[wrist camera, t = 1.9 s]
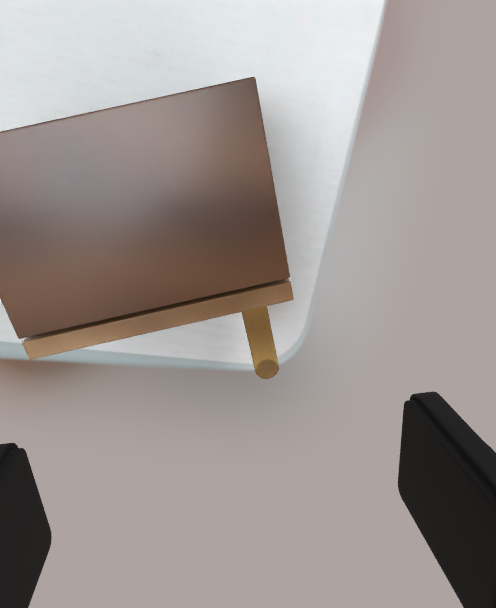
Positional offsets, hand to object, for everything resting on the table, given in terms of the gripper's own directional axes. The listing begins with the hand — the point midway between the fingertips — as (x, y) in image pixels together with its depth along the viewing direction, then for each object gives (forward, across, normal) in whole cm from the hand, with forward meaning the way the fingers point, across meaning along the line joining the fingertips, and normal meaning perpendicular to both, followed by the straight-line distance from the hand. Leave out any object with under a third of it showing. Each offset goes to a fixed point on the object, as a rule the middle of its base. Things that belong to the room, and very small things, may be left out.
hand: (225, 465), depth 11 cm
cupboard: (+22, +3, -4) cm, 23 cm away
